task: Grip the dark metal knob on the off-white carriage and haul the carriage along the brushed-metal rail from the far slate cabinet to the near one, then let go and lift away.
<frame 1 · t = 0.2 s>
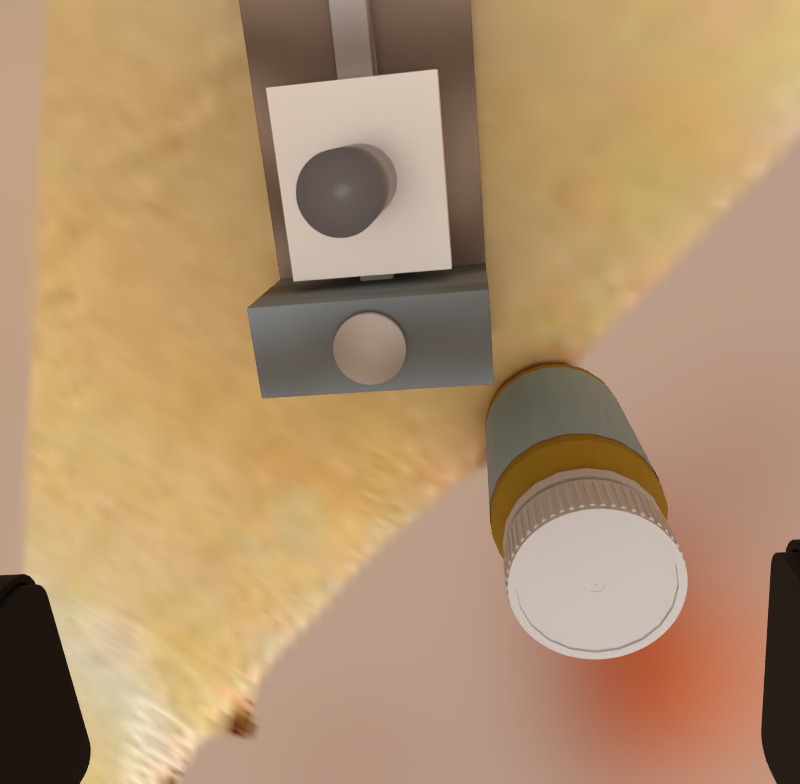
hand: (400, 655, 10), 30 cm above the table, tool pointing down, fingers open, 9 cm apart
bottle: (551, 421, 40), on the table
rail track: (362, 48, 35), on the table
carriage: (356, 183, 30), point 6 cm above the table, slide at 0.0 cm
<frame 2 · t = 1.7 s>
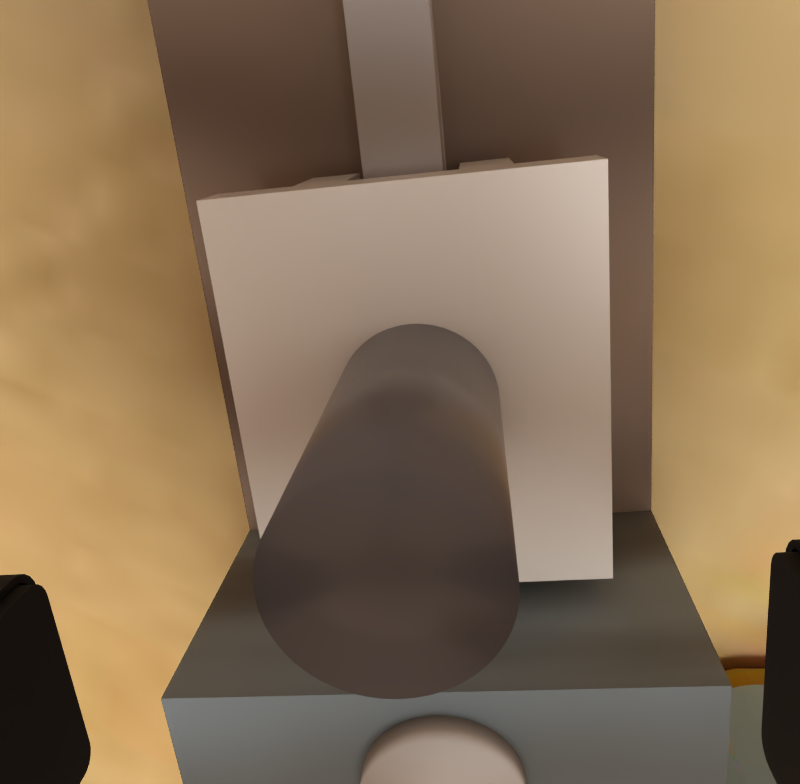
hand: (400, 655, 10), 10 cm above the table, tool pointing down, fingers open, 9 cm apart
bottle: (739, 745, 23), on the table
rail track: (408, 93, 17), on the table
carriage: (413, 431, 13), point 6 cm above the table, slide at 0.0 cm
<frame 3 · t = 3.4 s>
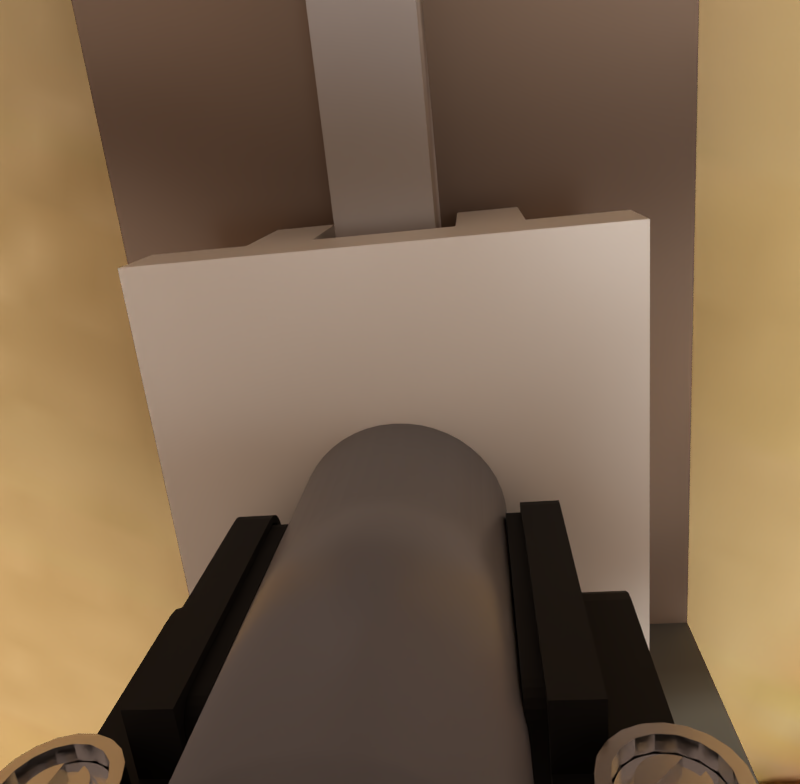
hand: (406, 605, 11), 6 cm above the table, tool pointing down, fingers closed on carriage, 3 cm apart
rail track: (395, 126, 14), on the table
carriage: (395, 571, 10), point 6 cm above the table, slide at 0.0 cm, touching gripper
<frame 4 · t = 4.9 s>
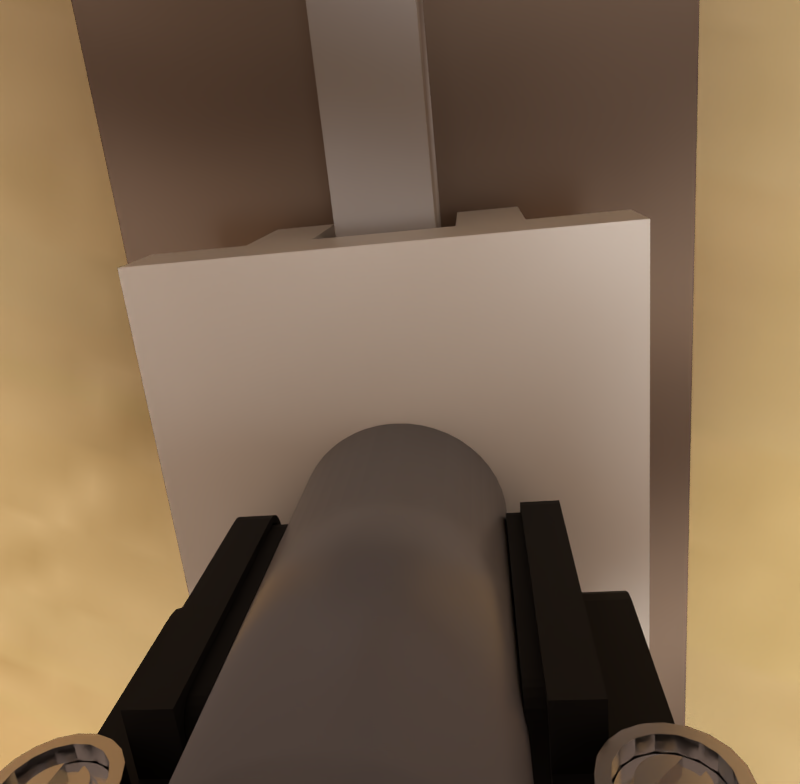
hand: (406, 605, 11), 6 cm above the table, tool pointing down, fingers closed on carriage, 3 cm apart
rail track: (422, 399, 16), on the table
carriage: (395, 571, 10), point 6 cm above the table, slide at 5.4 cm, touching gripper
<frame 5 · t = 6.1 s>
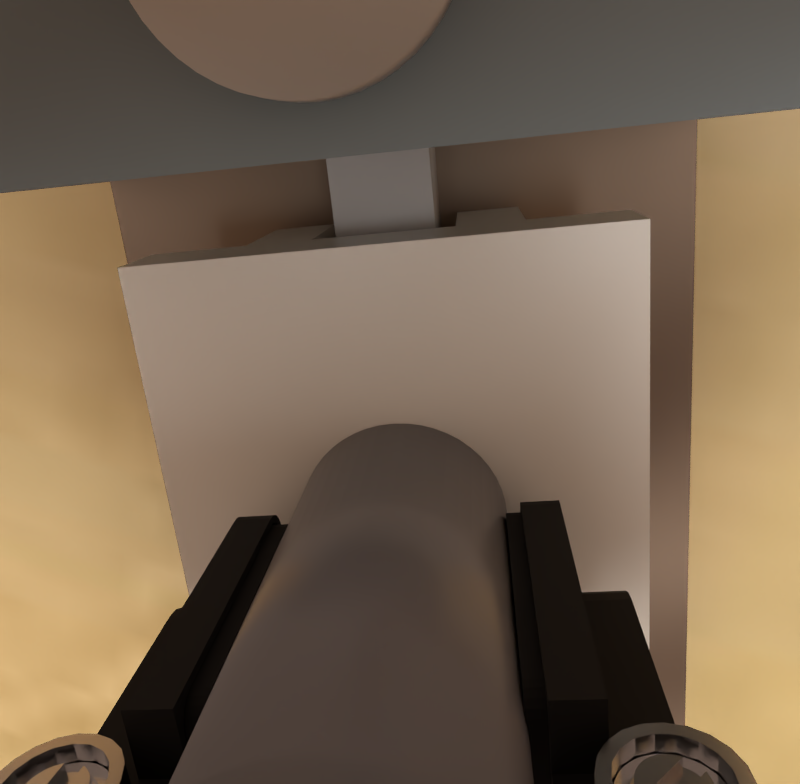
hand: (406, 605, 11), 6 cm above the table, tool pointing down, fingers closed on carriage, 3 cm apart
rail track: (442, 603, 17), on the table
carriage: (395, 571, 10), point 6 cm above the table, slide at 10.4 cm, touching gripper
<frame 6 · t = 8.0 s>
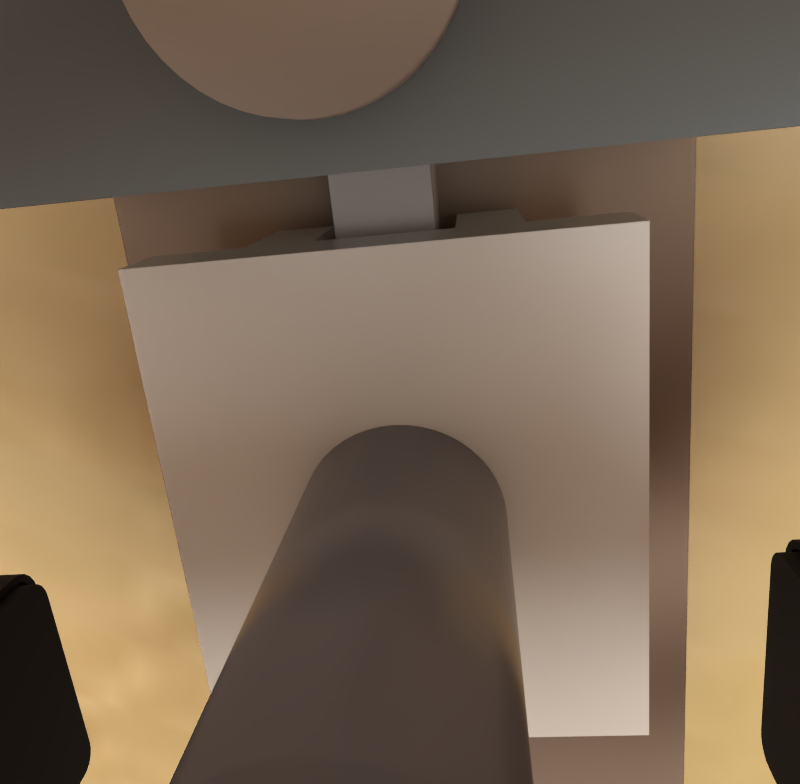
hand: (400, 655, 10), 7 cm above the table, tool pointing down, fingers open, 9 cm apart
rail track: (443, 609, 17), on the table
carriage: (394, 572, 10), point 6 cm above the table, slide at 10.5 cm
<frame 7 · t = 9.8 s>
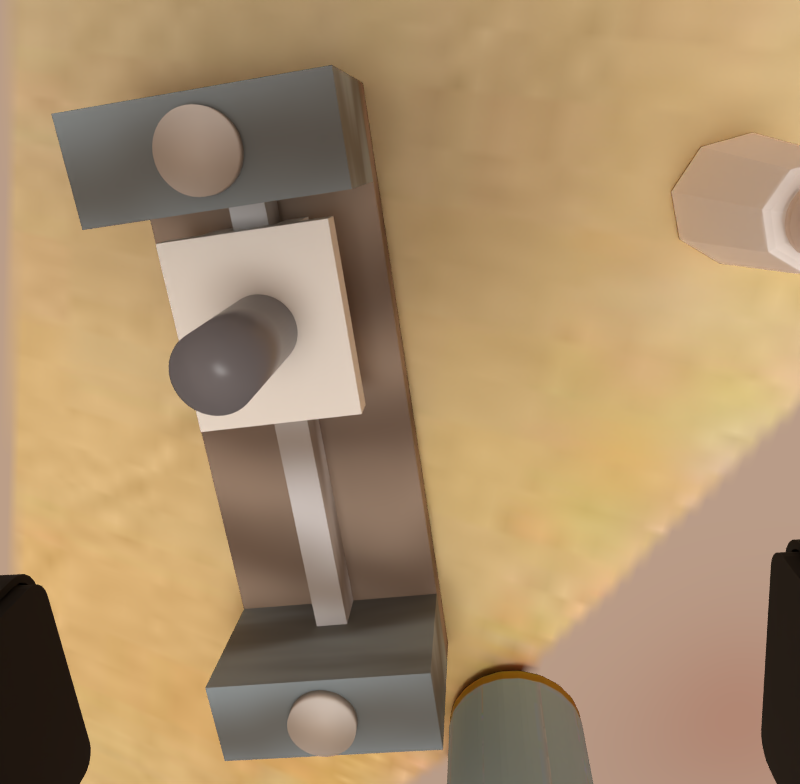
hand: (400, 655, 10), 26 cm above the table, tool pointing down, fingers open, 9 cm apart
bottle: (514, 714, 42), on the table
rail track: (308, 406, 37), on the table
pepper shaker: (733, 199, 32), on the table
carriage: (251, 339, 29), point 6 cm above the table, slide at 10.5 cm
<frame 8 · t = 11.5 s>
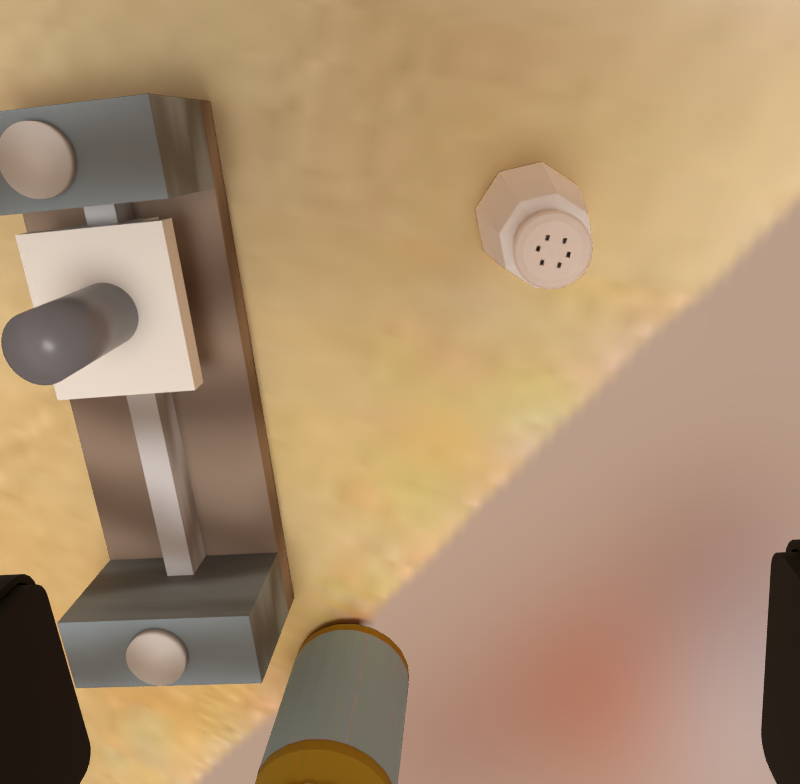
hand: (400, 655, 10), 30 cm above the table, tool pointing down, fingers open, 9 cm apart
bottle: (353, 663, 47), on the table
rail track: (168, 382, 42), on the table
pepper shaker: (529, 218, 37), on the table
carriage: (93, 321, 34), point 6 cm above the table, slide at 10.5 cm
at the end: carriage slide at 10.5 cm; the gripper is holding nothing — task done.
